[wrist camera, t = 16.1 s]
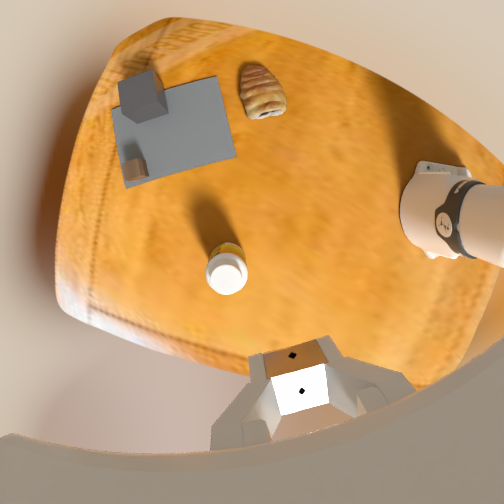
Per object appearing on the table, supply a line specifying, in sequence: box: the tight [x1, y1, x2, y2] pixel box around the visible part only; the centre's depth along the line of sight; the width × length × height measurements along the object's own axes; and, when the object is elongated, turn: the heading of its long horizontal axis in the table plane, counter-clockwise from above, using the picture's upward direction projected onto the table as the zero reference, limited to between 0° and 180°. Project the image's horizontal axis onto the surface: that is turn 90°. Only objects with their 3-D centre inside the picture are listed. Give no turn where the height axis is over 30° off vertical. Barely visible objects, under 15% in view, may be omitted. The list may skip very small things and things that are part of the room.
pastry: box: [240, 65, 287, 120], centre depth 36 cm, size 9×7×4 cm
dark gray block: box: [118, 69, 169, 124], centre depth 33 cm, size 5×5×7 cm
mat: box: [111, 76, 236, 189], centre depth 38 cm, size 18×14×1 cm
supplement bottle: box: [206, 243, 248, 295], centre depth 39 cm, size 6×6×10 cm
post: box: [121, 158, 149, 181], centre depth 37 cm, size 3×3×4 cm
